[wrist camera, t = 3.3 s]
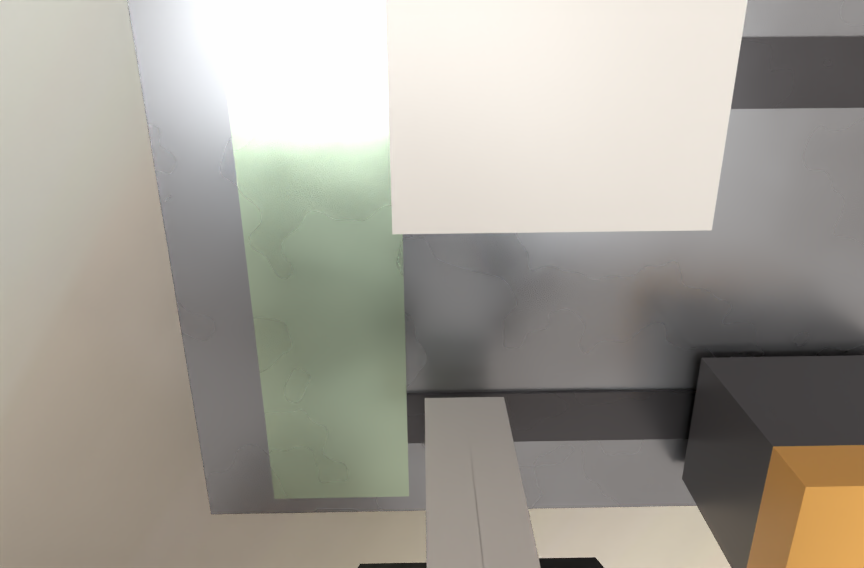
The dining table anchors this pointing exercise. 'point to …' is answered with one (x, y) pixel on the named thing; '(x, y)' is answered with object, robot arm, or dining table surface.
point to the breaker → (558, 113)
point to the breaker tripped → (780, 459)
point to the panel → (474, 265)
